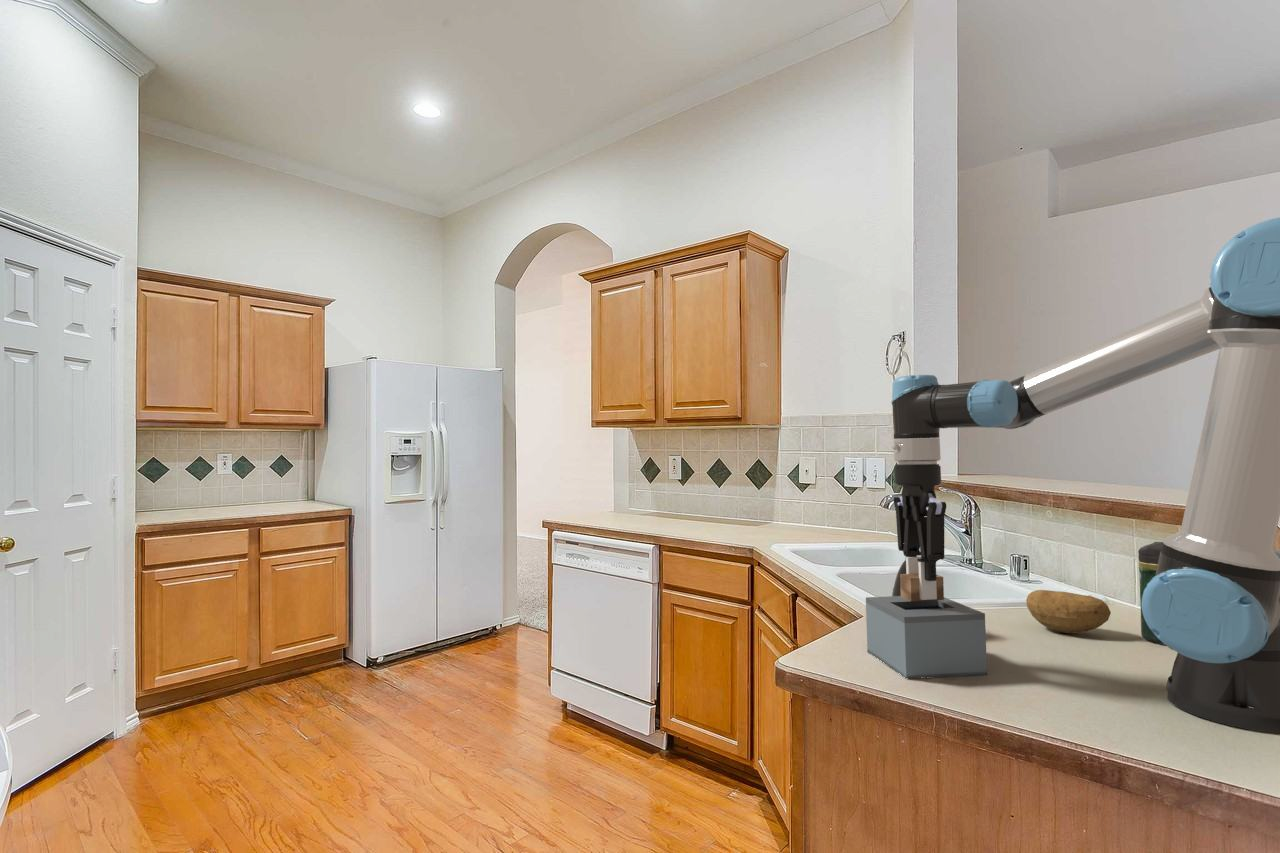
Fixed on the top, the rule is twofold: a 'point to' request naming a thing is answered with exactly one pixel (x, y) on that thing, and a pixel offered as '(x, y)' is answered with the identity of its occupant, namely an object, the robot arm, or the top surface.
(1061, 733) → the top surface
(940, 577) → the block
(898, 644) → the box
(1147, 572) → the coffee jar
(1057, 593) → the potato
